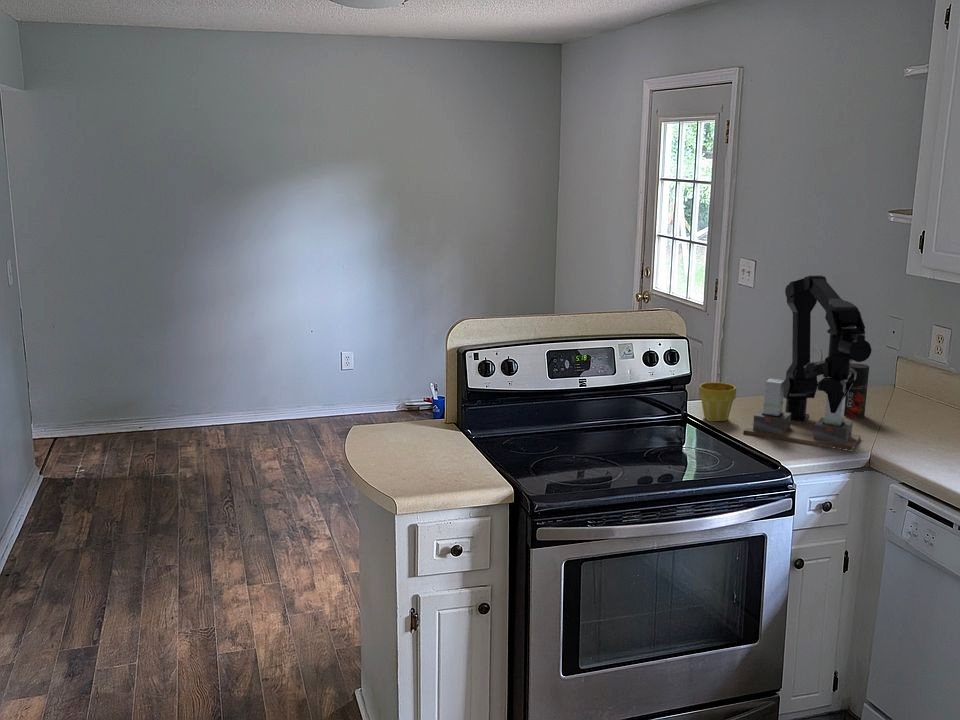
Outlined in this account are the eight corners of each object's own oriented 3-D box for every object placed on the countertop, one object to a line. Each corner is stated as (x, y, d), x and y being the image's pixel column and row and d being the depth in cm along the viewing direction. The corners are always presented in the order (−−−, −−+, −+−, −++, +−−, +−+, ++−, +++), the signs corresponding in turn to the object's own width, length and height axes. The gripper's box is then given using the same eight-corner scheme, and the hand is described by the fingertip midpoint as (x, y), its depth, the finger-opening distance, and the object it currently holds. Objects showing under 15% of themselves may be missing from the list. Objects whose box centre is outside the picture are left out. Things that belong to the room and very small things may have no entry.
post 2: (826, 426, 249) (829, 393, 247) (843, 429, 247) (846, 395, 244) (823, 430, 245) (826, 397, 243) (839, 433, 243) (842, 399, 241)
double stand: (755, 423, 263) (757, 406, 262) (860, 439, 248) (861, 421, 247) (743, 433, 253) (744, 416, 252) (851, 451, 239) (853, 432, 237)
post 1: (767, 410, 257) (769, 378, 254) (782, 412, 254) (785, 380, 252) (763, 414, 253) (765, 381, 251) (778, 416, 251) (781, 383, 249)
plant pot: (690, 418, 267) (692, 385, 265) (709, 411, 274) (711, 379, 272) (721, 426, 260) (723, 392, 258) (741, 419, 267) (743, 386, 265)
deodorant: (866, 414, 271) (871, 365, 268) (862, 419, 267) (867, 368, 263) (845, 411, 275) (849, 362, 271) (840, 416, 270) (845, 366, 266)
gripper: (816, 343, 253) (811, 398, 257) (799, 356, 238) (794, 414, 241) (859, 348, 247) (854, 404, 251) (845, 361, 232) (839, 421, 235)
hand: (834, 410), depth 245 cm, fingers closed on post 2, 4 cm apart
